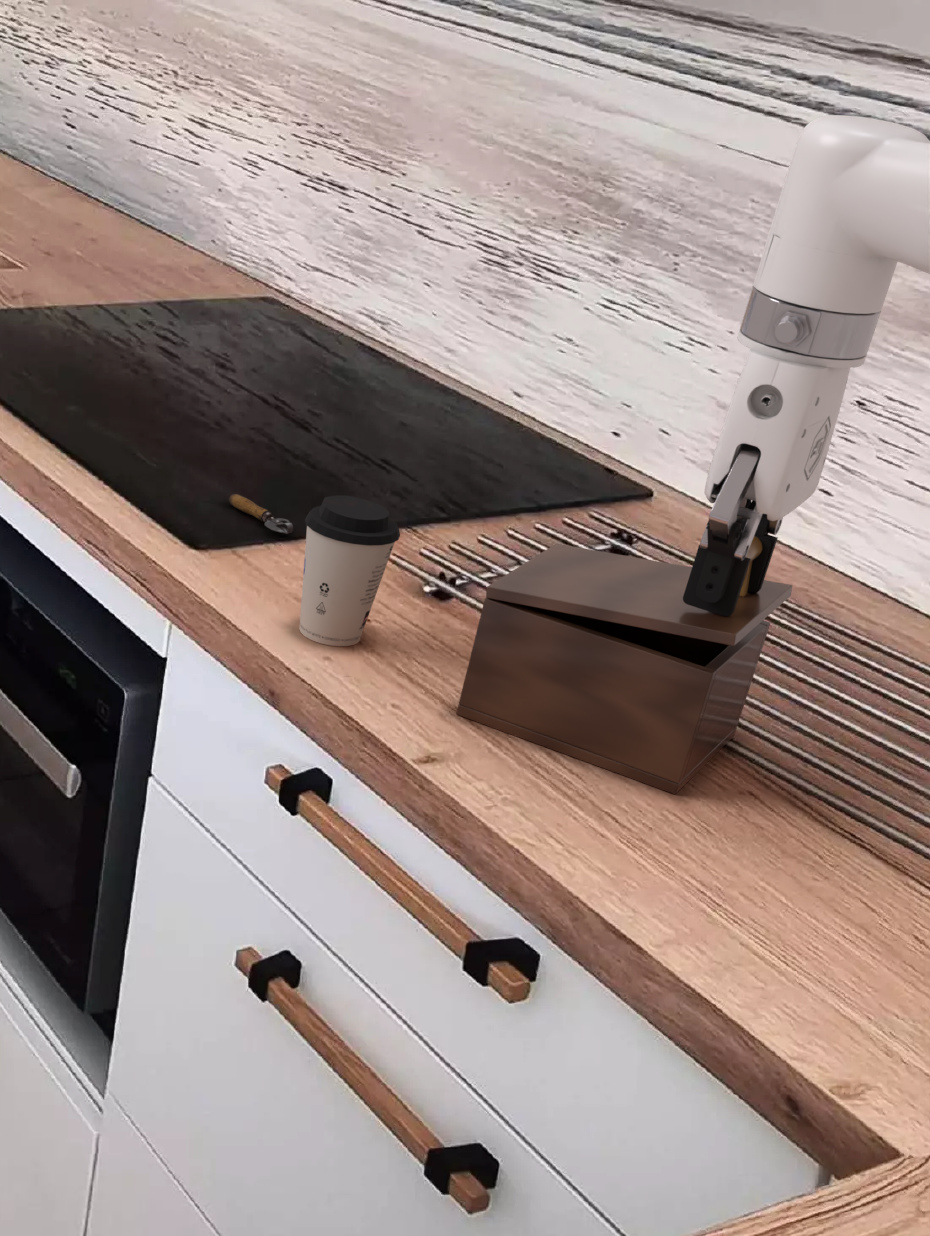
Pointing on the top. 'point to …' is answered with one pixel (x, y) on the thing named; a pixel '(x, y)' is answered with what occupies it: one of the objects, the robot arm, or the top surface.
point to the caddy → (608, 690)
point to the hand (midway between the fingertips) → (721, 595)
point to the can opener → (260, 514)
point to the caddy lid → (633, 593)
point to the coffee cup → (343, 567)
